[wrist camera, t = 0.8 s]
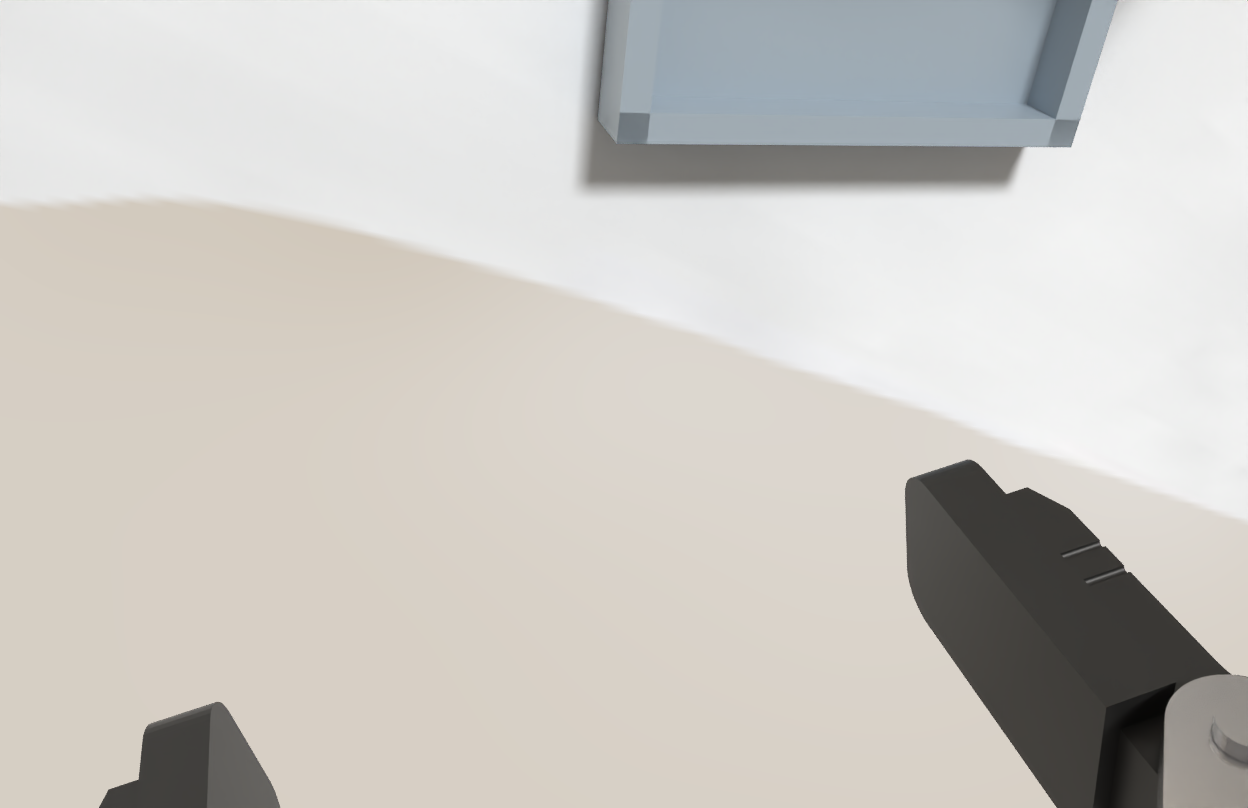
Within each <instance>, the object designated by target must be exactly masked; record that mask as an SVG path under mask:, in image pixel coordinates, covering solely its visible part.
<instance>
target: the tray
mask: <svg viewBox="0 0 1248 808" xmlns="http://www.w3.org/2000/svg"><path fill="white" fill-rule="evenodd" d="M1117 1H1118V0H608V10H607V21H606V33H605V44H604V55H603V66H602V77H601V89H600V100H599V111H598V121H599V122H600V123H601V125H602V126H603V127H604V128H605V130H606V131H607V132H608V133H609V135H610V136H611V137H612V139H613V140H614V141H615V142H616V144H709V145H843V146H976V147H1071V146H1072V143H1073V139H1074V136H1075V133H1076V130H1077V127H1078V124H1079V120H1080V117H1081V114H1082V111H1083V108H1084V105H1085V102H1086V98H1087V95H1088V92H1089V89H1090V86H1091V83H1092V79H1093V76H1094V73H1095V70H1096V67H1097V64H1098V61H1099V57H1100V54H1101V51H1102V48H1103V45H1104V42H1105V38H1106V35H1107V32H1108V29H1109V26H1110V23H1111V20H1112V16H1113V13H1114V10H1115V7H1116V4H1117Z"/></svg>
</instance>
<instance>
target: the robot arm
mask: <svg viewBox="0 0 1248 808" xmlns="http://www.w3.org/2000/svg"><path fill="white" fill-rule="evenodd" d="M905 504H906V541H907V571H908V578H909V583H910V587H911V589H912V593H913V596H914V599H915V601H916V603H917V606H918V608H919V610H920V612H921V614H922V615H923V617H924V619H925V621H926V622H927V623H928V625H929V627H930V628H931V629H932V631H933V632H934V634H935V635H936V637H937V638H938V639H939V641H940V642H941V644H942V645H943V646H944V648H945V649H946V651H947V652H948V654H949V655H950V656H951V658H952V659H953V661H954V662H955V664H956V665H957V666H958V668H959V669H960V670H961V672H962V673H963V675H964V676H965V678H966V679H967V681H968V682H969V683H970V685H971V686H972V688H973V689H974V690H975V692H976V693H977V695H978V696H979V698H980V699H981V700H982V702H983V703H984V705H985V706H986V708H987V709H988V710H989V711H990V713H991V715H992V716H993V718H994V719H995V720H996V722H997V723H998V724H999V726H1000V727H1001V729H1002V730H1003V732H1004V733H1005V734H1006V736H1007V737H1008V739H1009V740H1010V742H1011V743H1012V744H1013V746H1014V747H1015V749H1016V750H1017V752H1018V753H1019V754H1020V756H1021V757H1022V759H1023V760H1024V761H1025V763H1026V764H1027V766H1028V767H1029V769H1030V770H1031V772H1032V773H1033V774H1034V776H1035V777H1036V779H1037V780H1038V781H1039V783H1040V784H1041V786H1042V787H1043V789H1044V790H1045V791H1046V793H1047V794H1048V796H1049V797H1050V798H1051V800H1052V801H1053V803H1054V804H1055V806H1056V807H1057V808H1248V677H1246V676H1240V675H1231V674H1230V673H1229V672H1227V671H1226V670H1225V669H1224V668H1223V667H1222V666H1221V665H1220V664H1219V663H1218V662H1217V661H1216V660H1215V659H1214V658H1213V657H1212V656H1211V655H1210V654H1209V653H1208V652H1207V651H1206V650H1205V649H1204V648H1203V647H1202V646H1201V645H1200V644H1199V643H1198V642H1197V640H1195V638H1194V637H1193V636H1191V634H1190V633H1189V632H1188V631H1187V630H1186V629H1185V628H1184V627H1183V626H1182V625H1181V624H1180V623H1179V622H1178V621H1177V620H1176V619H1175V618H1174V617H1173V616H1172V615H1171V614H1170V613H1169V612H1168V610H1167V609H1165V608H1164V606H1163V605H1162V604H1161V603H1160V602H1159V601H1158V600H1157V599H1156V598H1155V597H1154V596H1153V595H1152V594H1151V593H1150V592H1149V591H1148V590H1147V589H1146V588H1145V587H1144V586H1143V585H1142V584H1141V583H1140V582H1139V581H1138V580H1137V578H1136V577H1135V576H1134V575H1133V574H1132V573H1131V572H1128V573H1127V572H1126V571H1125V569H1124V565H1123V564H1122V563H1121V562H1120V561H1119V560H1118V559H1117V558H1116V557H1115V556H1114V555H1113V554H1112V553H1111V552H1110V551H1109V549H1108V548H1106V546H1105V547H1102V546H1101V544H1100V540H1099V539H1098V538H1097V537H1096V536H1095V535H1094V534H1093V533H1092V532H1091V531H1090V530H1089V529H1088V528H1087V527H1086V526H1085V525H1084V524H1083V523H1082V522H1081V521H1080V519H1078V517H1077V516H1076V515H1075V514H1074V513H1073V512H1072V511H1071V510H1070V509H1068V508H1066V507H1064V506H1062V505H1060V504H1059V503H1057V502H1055V501H1053V500H1051V499H1049V498H1047V497H1045V496H1043V495H1041V494H1039V493H1037V492H1035V491H1033V490H1031V489H1029V488H1024V489H1021V490H1018V491H1015V492H1012V493H1009V494H1005V493H1004V492H1003V490H1002V489H1001V488H1000V487H999V486H998V485H997V484H996V483H995V481H994V480H993V479H992V478H991V477H990V476H989V475H988V474H987V473H986V472H985V470H984V469H983V468H982V467H981V466H980V465H979V464H977V463H976V462H974V461H972V460H965V461H962V462H959V463H956V464H953V465H950V466H946V467H943V468H940V469H938V470H934V471H931V472H928V473H925V474H922V475H919V476H916V477H913V478H910V479H909V480H908V481H907V483H906V488H905ZM99 808H280V805H279V802H278V799H277V796H276V793H275V791H274V789H273V786H272V784H271V782H270V780H269V779H268V777H267V775H266V774H265V772H264V770H263V768H262V767H261V765H260V763H259V762H258V760H257V758H256V757H255V755H254V753H253V751H252V750H251V748H250V747H249V745H248V743H247V742H246V740H245V738H244V736H243V735H242V733H241V731H240V729H239V728H238V726H237V724H236V723H235V721H234V719H233V718H232V716H231V714H230V713H229V711H228V710H227V708H226V707H225V706H224V705H223V704H222V703H220V702H215V703H212V704H209V705H206V706H203V707H200V708H197V709H194V710H191V711H188V712H185V713H182V714H178V715H176V716H173V717H170V718H166V719H163V720H160V721H157V722H154V723H151V724H149V725H148V726H147V727H146V729H145V732H144V735H143V743H142V752H141V763H140V772H139V780H137V781H133V782H130V783H127V784H124V785H121V786H119V787H115V788H112V789H109V790H108V792H107V794H106V796H105V798H104V799H103V801H102V803H101V805H100V807H99Z"/></svg>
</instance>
